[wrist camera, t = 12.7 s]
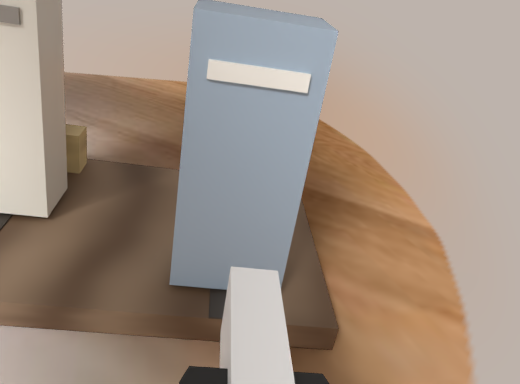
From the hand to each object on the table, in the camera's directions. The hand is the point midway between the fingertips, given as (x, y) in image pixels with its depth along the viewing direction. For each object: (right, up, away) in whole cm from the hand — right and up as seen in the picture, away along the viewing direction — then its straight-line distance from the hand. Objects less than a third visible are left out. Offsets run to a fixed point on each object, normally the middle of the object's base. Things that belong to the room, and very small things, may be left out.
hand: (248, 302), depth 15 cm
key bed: (-9, +1, +16) cm, 18 cm away
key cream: (-16, +3, +15) cm, 22 cm away
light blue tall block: (-2, -1, +12) cm, 12 cm away
